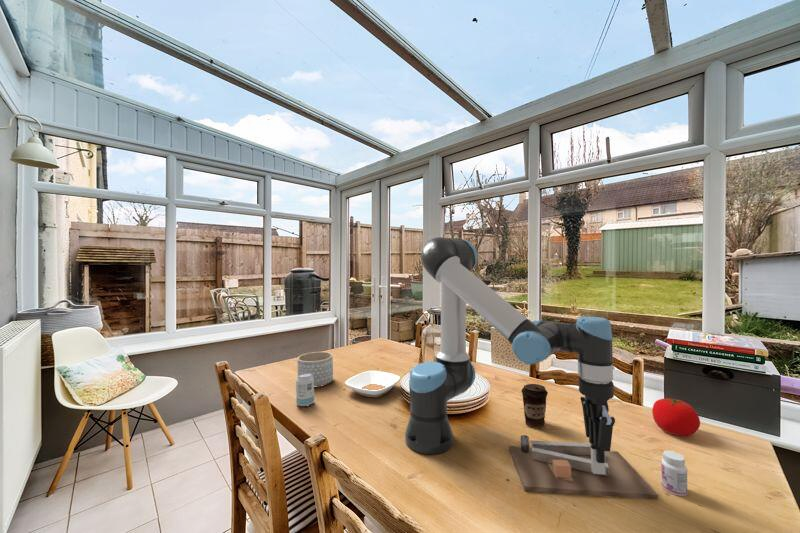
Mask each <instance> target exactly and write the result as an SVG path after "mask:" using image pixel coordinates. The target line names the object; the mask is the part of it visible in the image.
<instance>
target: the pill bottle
mask: <svg viewBox="0 0 800 533" xmlns="http://www.w3.org/2000/svg"><path fill="white" fill-rule="evenodd" d="M660 463H661V464H660V465H661V466H660V467H661V486H662V488H663V489H664V490H666V492H668V493H670V494H673V495H675V496H678V497H679V496H680V497H684V496H687V495H688V491H689V490H688V467H687V466H686V458H685V457H684V455H682V454H680V453H678V452H676V451H673V450H664V451H663V453H662V459H661V462H660Z"/></svg>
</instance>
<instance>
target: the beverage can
mask: <svg viewBox="0 0 800 533" xmlns="http://www.w3.org/2000/svg"><path fill="white" fill-rule="evenodd" d="M295 392H296V394H295V395H296V398H295V399H296V400H295V401H296V405H297V406H299V407H301V406H307V405H310V404H311V405H312V404H313V403H314V402H315V388H314V378H313V376H312V374H311V373H301V374H299V375H298V374H297V377H296V379H295ZM311 405H310V406H311ZM307 407H308V406H307Z"/></svg>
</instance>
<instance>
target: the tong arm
mask: <svg viewBox="0 0 800 533" xmlns="http://www.w3.org/2000/svg"><path fill="white" fill-rule="evenodd" d="M532 459H534V460H538V461H542V462H547V463H551V464H553V460H567V461H568V462H569V464H570V465H571V468H573V469H577V470H581V471H586V472H590V473H593V472H592V470H591V460H590V459H585V458H581V457H576V456H571V455H567V454H562V453H557V452H553V451H548V450H544V449H539V448H534V447H532ZM605 472H606V475H605V474H599V475H603V476H607V477H609V467H608V463H605Z"/></svg>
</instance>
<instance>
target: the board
mask: <svg viewBox="0 0 800 533" xmlns="http://www.w3.org/2000/svg"><path fill="white" fill-rule="evenodd" d="M508 449H509V454H510V455H511V459H512V460H513V463H514V466H515V470H516V472H517V475H518V477H519V480H520V483H521V486H522V488H523V490H524V491H523V492H534V493H548V494H549V493H550V494H562V495H563V494H565V495H577V494H578V495H579V496H591V495H592V496H595V497H606V496H610V497H609V498H620V499H621V498H622V499H623V498H626V499H637V500H638V499H639V500H641V499H642V500H650V501H651V500H653V501H654V500H655V501H659V498H660V497H659V493H657V492H656V491H655V489H654V488H653V487H652V486H651V485H650V484H649V482H647V481H646V480H645V479H644V478H643V477H642V476H641V475H640V473H638V472H637V470H635V468H634V467H633V466H632V465H631V464H630V463H629V462H628V461H627V460H626V458H624V457H623V456H622V454H620V452H619V451H616V450H615V451H613V450H612V451H611V450H610V451H605V463H608V467H609V477H607V476H603V475H599V474H594V473H590V472H586V471H581V470H577V469H573V468H571V478H562V477H556V476H555V474H554V472H553V464H551V463H547V462H542V461H538V460H534V459H532V449H531V446H529V453H524V452H522V451H521V446H516V445H515V446H511V445H509V446H508ZM567 455H571V456H576V457H581V458H585V459H590V460H591V455H575V454H567ZM578 495H577V496H578Z"/></svg>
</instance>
